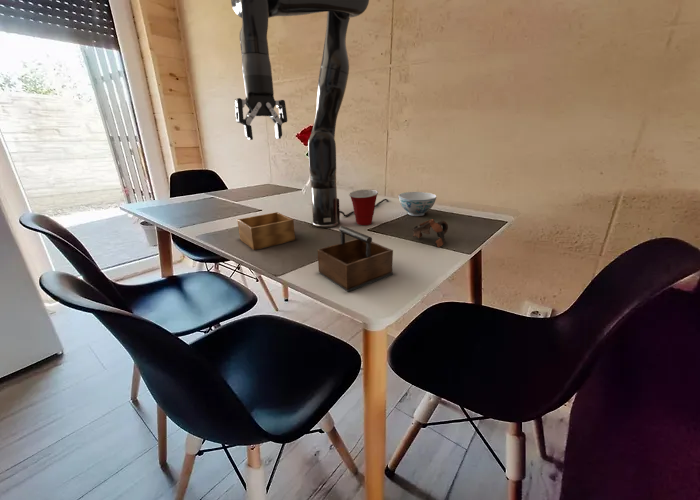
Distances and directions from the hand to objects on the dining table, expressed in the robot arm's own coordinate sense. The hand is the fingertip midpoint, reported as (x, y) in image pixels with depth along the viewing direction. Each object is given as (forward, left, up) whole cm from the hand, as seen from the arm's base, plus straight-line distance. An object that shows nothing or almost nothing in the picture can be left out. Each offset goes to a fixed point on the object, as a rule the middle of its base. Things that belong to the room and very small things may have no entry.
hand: (264, 139), depth 90 cm
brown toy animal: (-38, +32, -32) cm, 59 cm away
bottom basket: (+2, -3, -31) cm, 31 cm away
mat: (-5, +35, -31) cm, 48 cm away
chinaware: (-59, +7, -32) cm, 68 cm away
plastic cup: (-34, +3, -32) cm, 47 cm away
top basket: (-5, +35, -31) cm, 47 cm away
